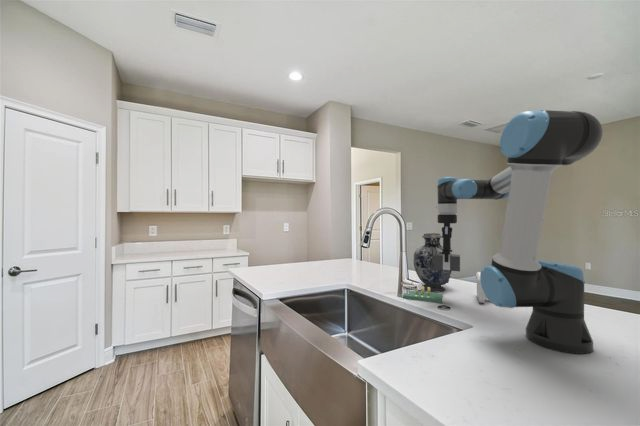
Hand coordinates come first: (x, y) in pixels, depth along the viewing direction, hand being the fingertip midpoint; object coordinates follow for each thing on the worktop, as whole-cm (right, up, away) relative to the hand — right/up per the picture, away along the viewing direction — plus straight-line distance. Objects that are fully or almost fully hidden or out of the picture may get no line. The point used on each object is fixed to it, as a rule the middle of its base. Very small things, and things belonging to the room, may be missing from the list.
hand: (446, 268), depth 122 cm
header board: (-8, -15, +7) cm, 18 cm away
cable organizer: (+20, -15, +2) cm, 25 cm away
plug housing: (0, 0, 0) cm, 0 cm away
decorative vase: (+3, -15, +23) cm, 28 cm away
